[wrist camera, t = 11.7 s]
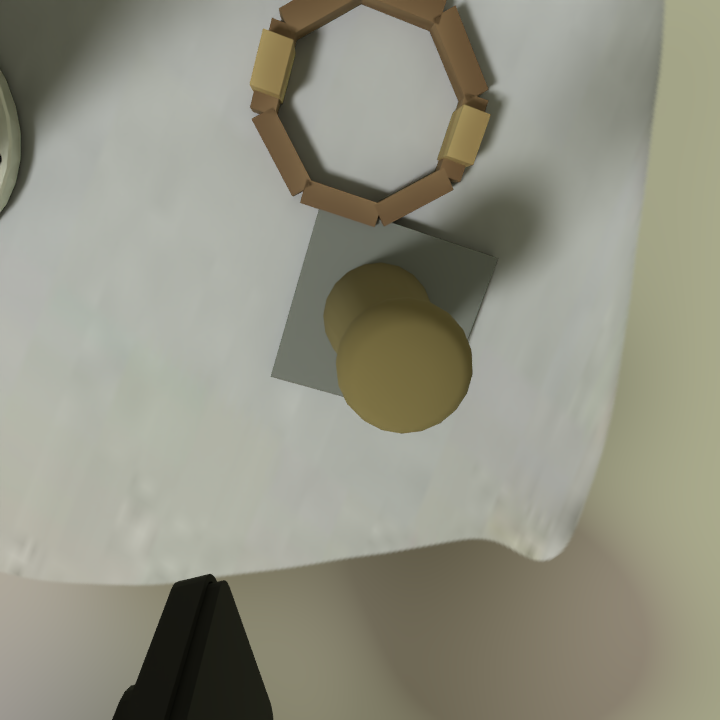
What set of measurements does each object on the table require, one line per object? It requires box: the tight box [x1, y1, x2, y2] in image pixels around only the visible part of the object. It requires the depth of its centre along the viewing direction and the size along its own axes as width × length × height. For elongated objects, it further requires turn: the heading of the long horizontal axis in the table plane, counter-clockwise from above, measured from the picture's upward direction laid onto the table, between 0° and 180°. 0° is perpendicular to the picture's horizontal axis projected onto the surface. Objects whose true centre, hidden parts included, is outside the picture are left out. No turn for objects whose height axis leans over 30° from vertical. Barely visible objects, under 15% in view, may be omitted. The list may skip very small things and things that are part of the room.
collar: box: [250, 0, 491, 227], centre depth 26 cm, size 11×11×2 cm
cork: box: [323, 262, 472, 433], centre depth 24 cm, size 6×6×11 cm
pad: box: [271, 209, 498, 397], centre depth 29 cm, size 10×10×1 cm
